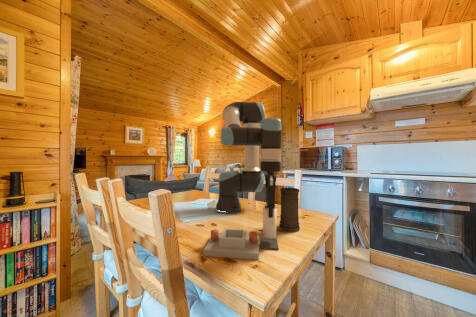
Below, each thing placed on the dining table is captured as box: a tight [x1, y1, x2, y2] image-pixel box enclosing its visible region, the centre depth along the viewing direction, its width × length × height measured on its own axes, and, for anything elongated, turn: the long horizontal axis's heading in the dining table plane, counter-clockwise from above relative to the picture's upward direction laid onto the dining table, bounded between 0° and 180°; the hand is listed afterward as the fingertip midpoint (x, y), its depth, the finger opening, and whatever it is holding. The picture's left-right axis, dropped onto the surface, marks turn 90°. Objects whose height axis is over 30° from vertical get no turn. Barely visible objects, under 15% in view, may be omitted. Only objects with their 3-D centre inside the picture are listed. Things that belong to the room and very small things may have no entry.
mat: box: [260, 237, 280, 251], centre depth 71 cm, size 8×6×1 cm
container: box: [279, 187, 301, 233], centre depth 86 cm, size 9×9×18 cm
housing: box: [203, 227, 260, 260], centre depth 68 cm, size 14×18×5 cm
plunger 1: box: [210, 229, 220, 240], centre depth 69 cm, size 3×3×3 cm
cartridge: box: [262, 204, 278, 238], centre depth 70 cm, size 5×5×11 cm
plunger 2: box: [248, 231, 258, 243], centre depth 67 cm, size 3×3×3 cm
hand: (269, 222), depth 71 cm, fingers closed on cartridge, 5 cm apart
